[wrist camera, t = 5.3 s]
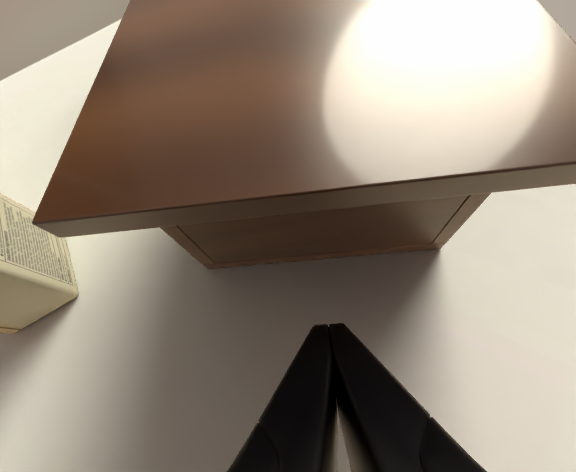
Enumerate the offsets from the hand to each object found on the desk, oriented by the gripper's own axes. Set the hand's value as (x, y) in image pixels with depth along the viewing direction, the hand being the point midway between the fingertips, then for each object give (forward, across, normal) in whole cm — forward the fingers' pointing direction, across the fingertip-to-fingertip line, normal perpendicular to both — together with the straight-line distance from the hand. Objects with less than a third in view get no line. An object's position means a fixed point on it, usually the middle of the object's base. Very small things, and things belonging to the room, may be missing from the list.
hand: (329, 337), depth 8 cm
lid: (+4, 0, -8) cm, 9 cm away
